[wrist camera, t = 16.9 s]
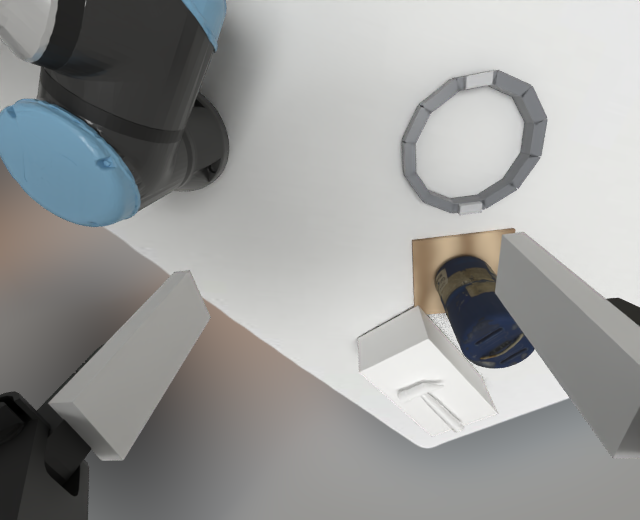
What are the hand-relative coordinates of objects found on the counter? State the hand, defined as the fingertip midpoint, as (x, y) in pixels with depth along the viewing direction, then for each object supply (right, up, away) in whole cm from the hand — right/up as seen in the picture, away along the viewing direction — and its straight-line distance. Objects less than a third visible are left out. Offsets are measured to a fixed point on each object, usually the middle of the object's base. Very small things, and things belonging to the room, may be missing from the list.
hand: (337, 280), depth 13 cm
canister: (+24, -2, +41) cm, 47 cm away
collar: (+20, +17, +31) cm, 41 cm away
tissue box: (+21, -20, +51) cm, 59 cm away
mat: (+24, -2, +41) cm, 48 cm away
